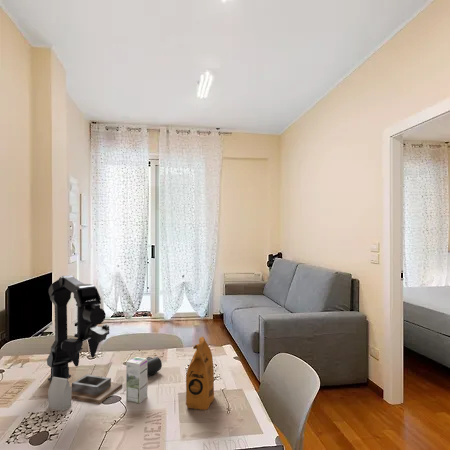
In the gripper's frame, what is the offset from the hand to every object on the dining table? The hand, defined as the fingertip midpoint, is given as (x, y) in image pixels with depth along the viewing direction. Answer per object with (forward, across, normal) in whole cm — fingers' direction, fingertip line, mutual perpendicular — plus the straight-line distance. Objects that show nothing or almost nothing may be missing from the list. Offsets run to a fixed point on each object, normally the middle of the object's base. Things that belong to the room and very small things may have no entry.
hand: (85, 361), depth 127 cm
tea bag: (+14, -8, +4) cm, 16 cm away
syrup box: (+14, +5, -19) cm, 24 cm away
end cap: (+14, +25, -13) cm, 31 cm away
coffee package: (+14, +9, -42) cm, 45 cm away
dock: (+14, +5, +1) cm, 15 cm away
